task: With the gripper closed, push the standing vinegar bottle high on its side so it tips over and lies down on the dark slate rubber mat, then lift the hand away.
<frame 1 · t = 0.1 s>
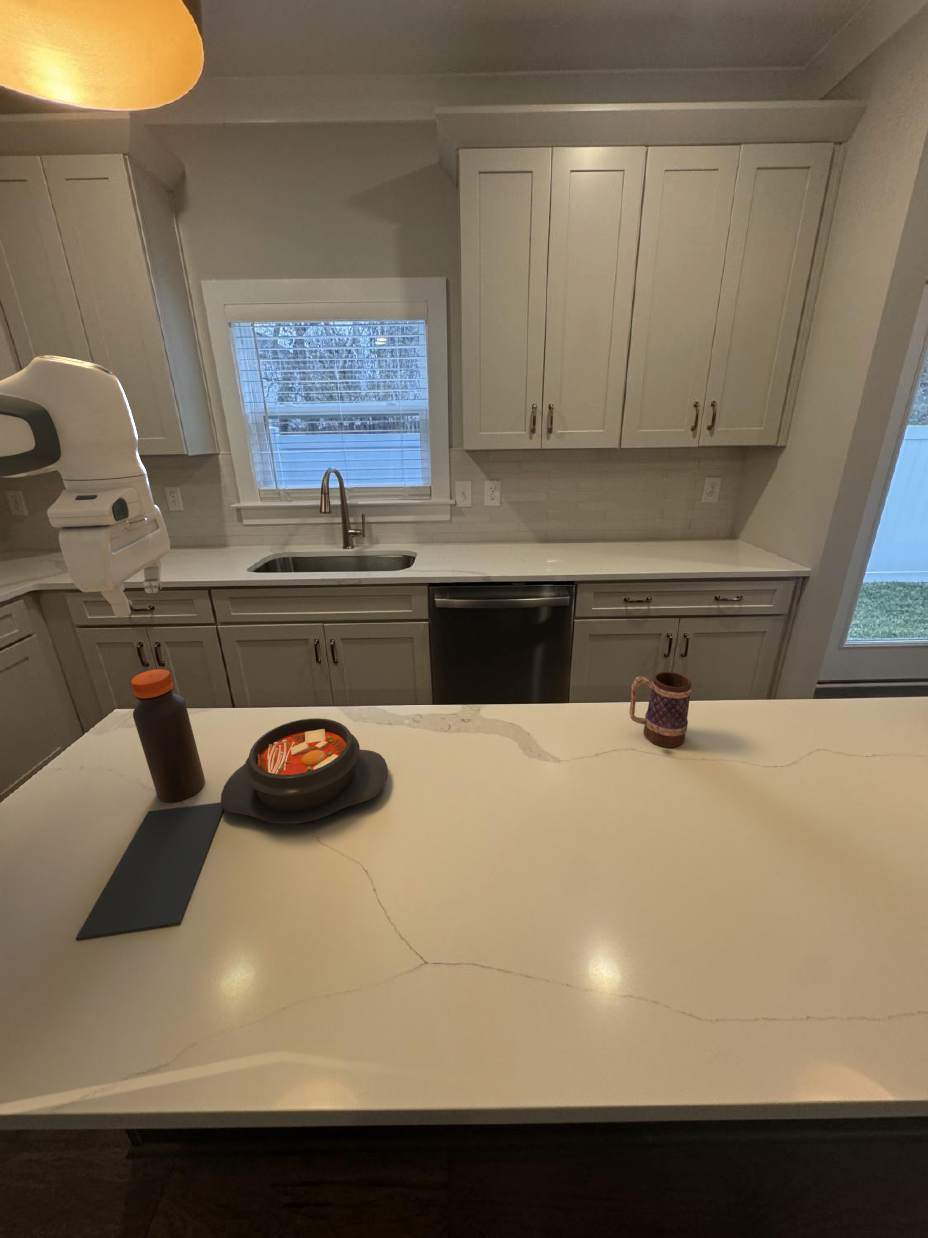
hand: (140, 602, 69), 31 cm above the table, tool pointing down, fingers open, 8 cm apart
mat: (162, 862, 67), on the table
mug: (654, 737, 91), on the table
vinegar: (182, 789, 80), on the table
casserole: (308, 790, 80), on the table
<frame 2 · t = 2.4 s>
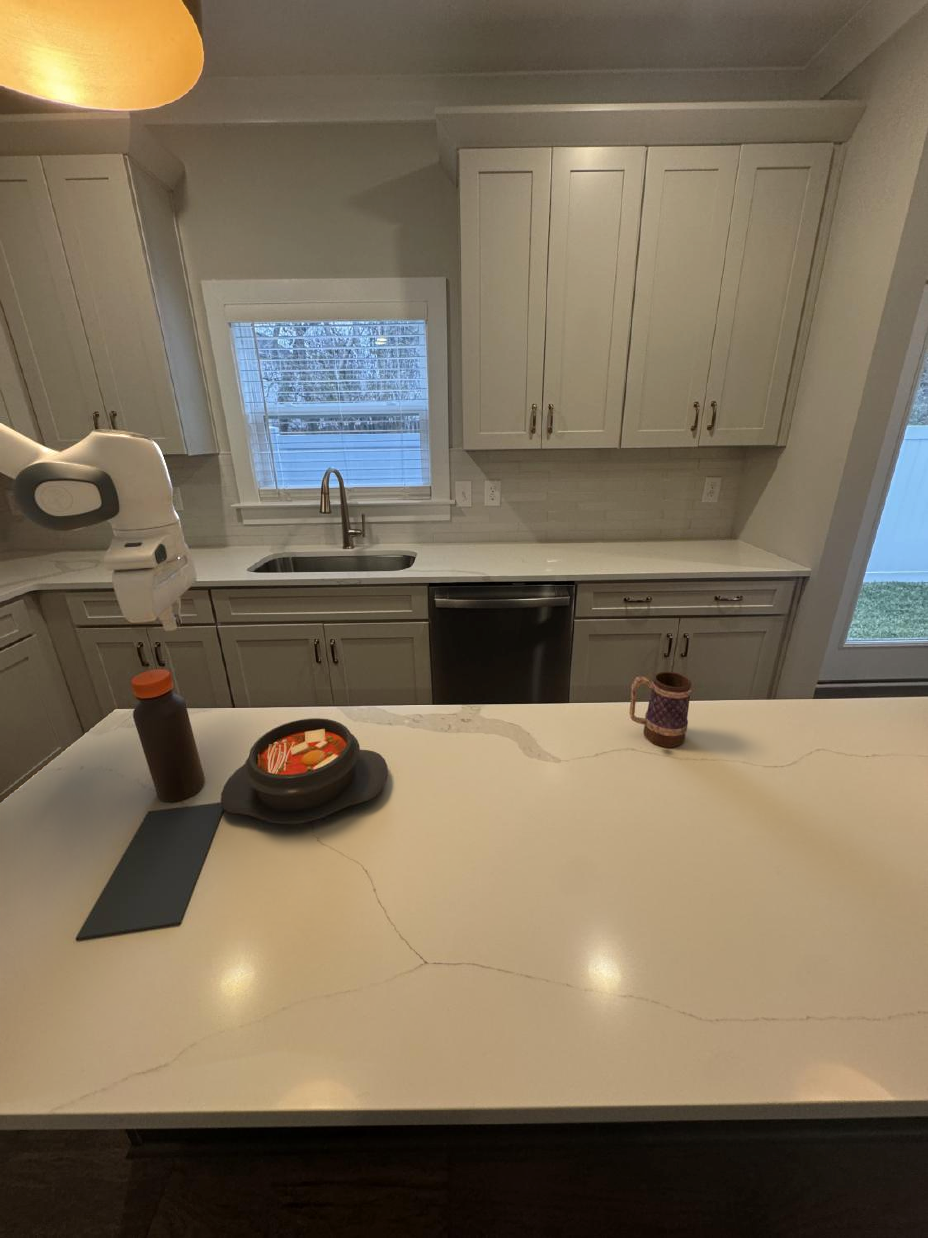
hand: (173, 627, 82), 23 cm above the table, tool pointing down, fingers closed
nothing on the table moved.
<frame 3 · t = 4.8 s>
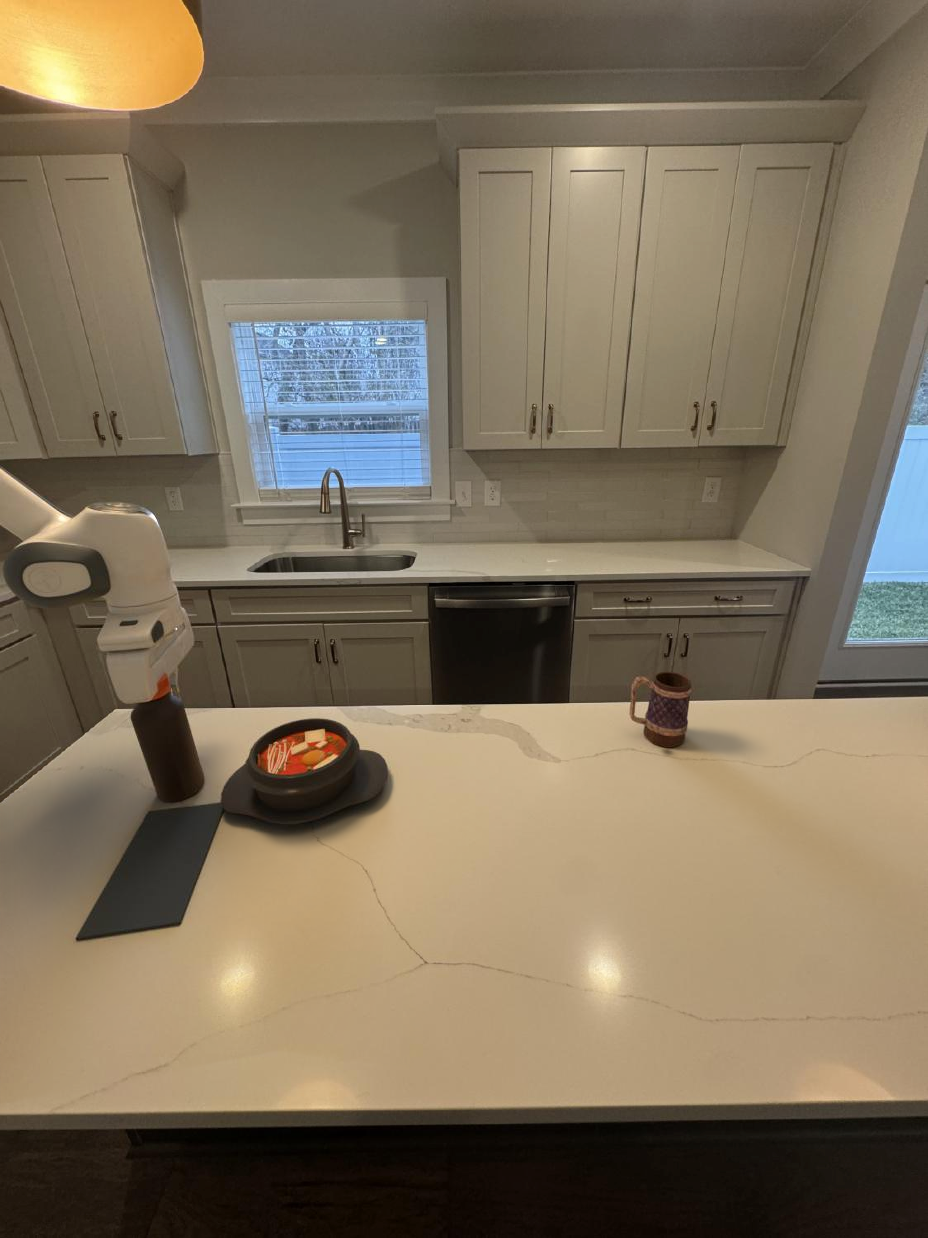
hand: (170, 698, 79), 14 cm above the table, tool pointing down, fingers closed
vinegar: (182, 788, 80), on the table, touching gripper
everything else where it was.
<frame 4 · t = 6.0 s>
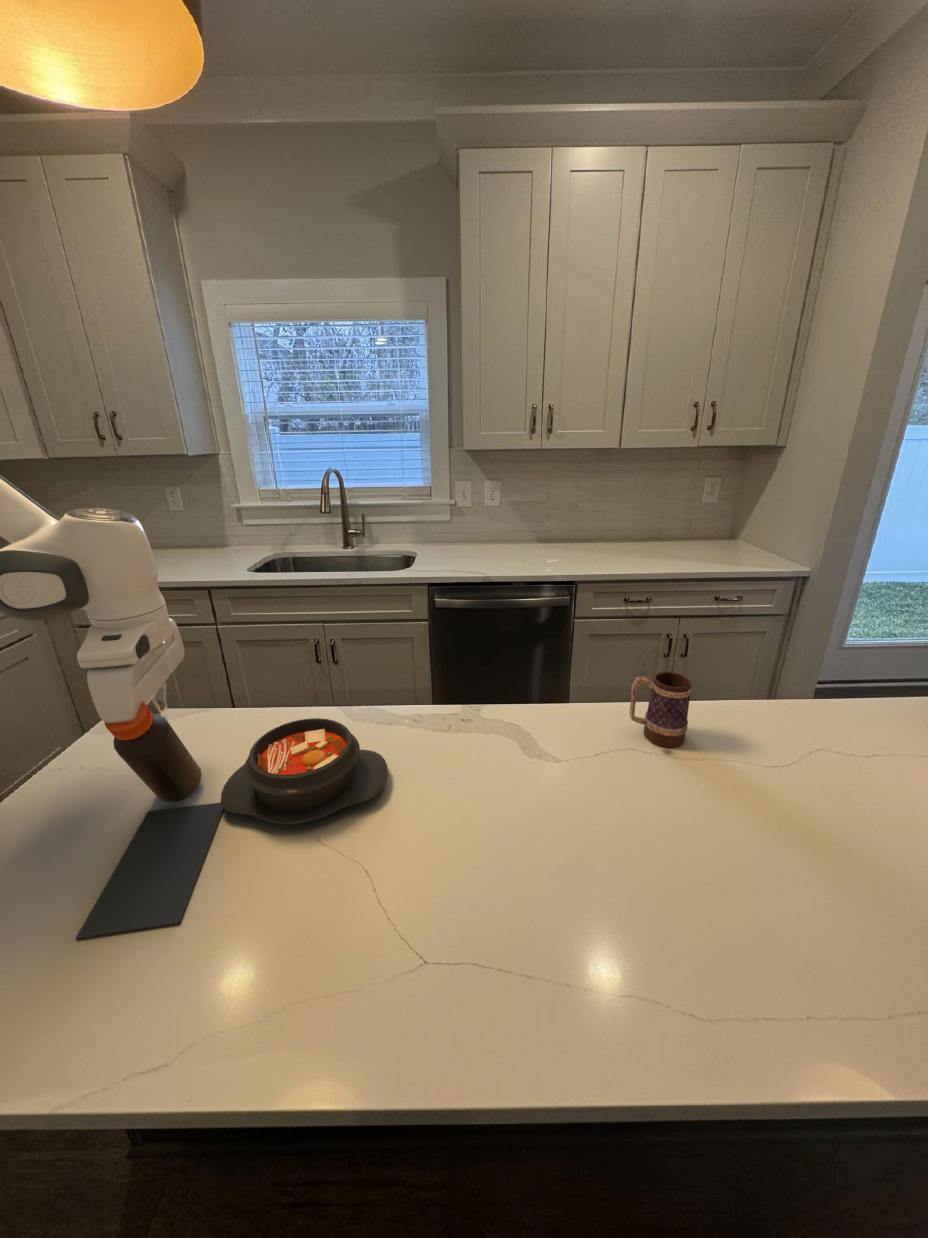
hand: (158, 715, 74), 14 cm above the table, tool pointing down, fingers closed
vinegar: (179, 782, 80), point 1 cm above the table
everything else where it was.
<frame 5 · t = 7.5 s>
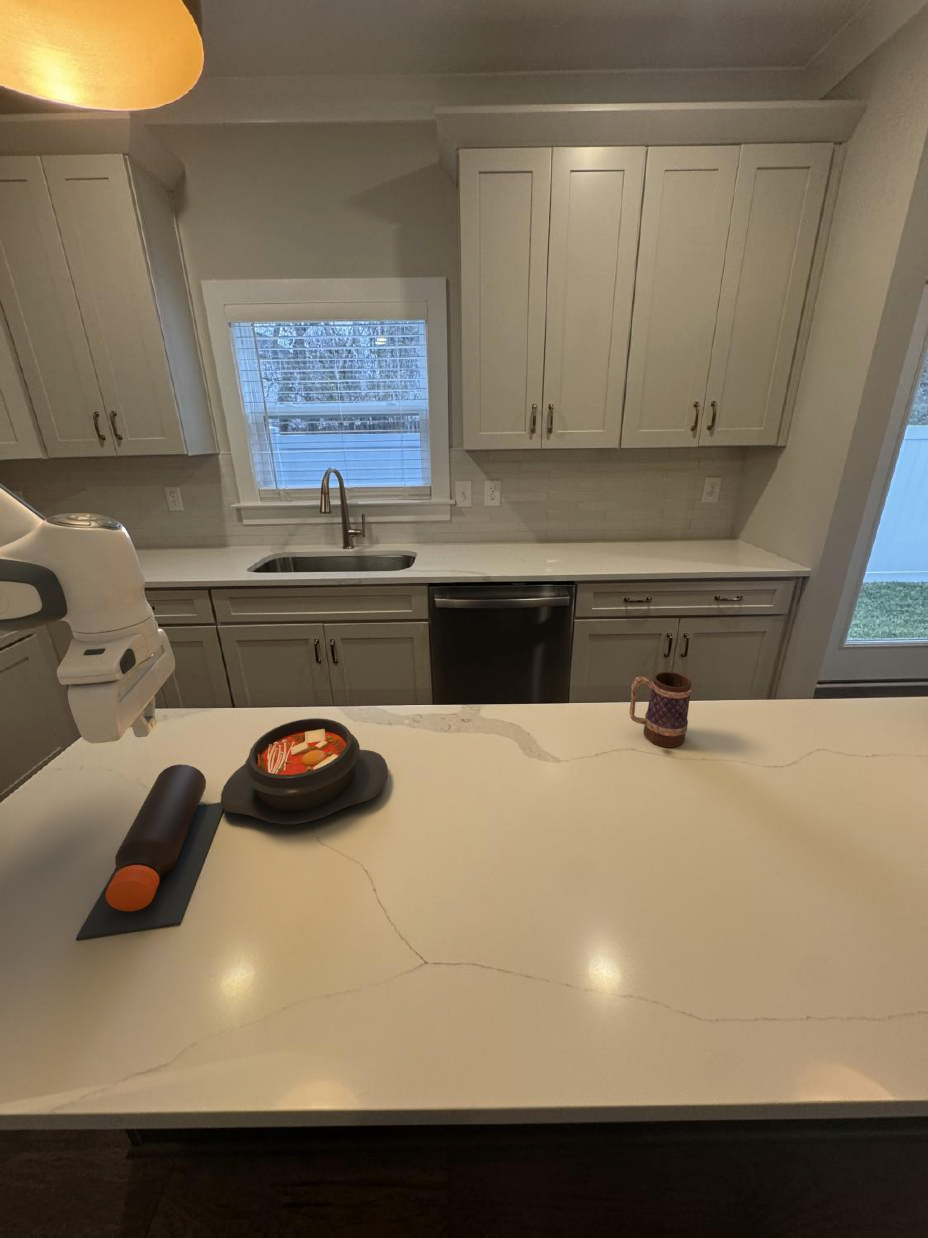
hand: (146, 731, 71), 14 cm above the table, tool pointing down, fingers closed
vinegar: (182, 780, 76), point 4 cm above the table, touching mat
everything else where it was.
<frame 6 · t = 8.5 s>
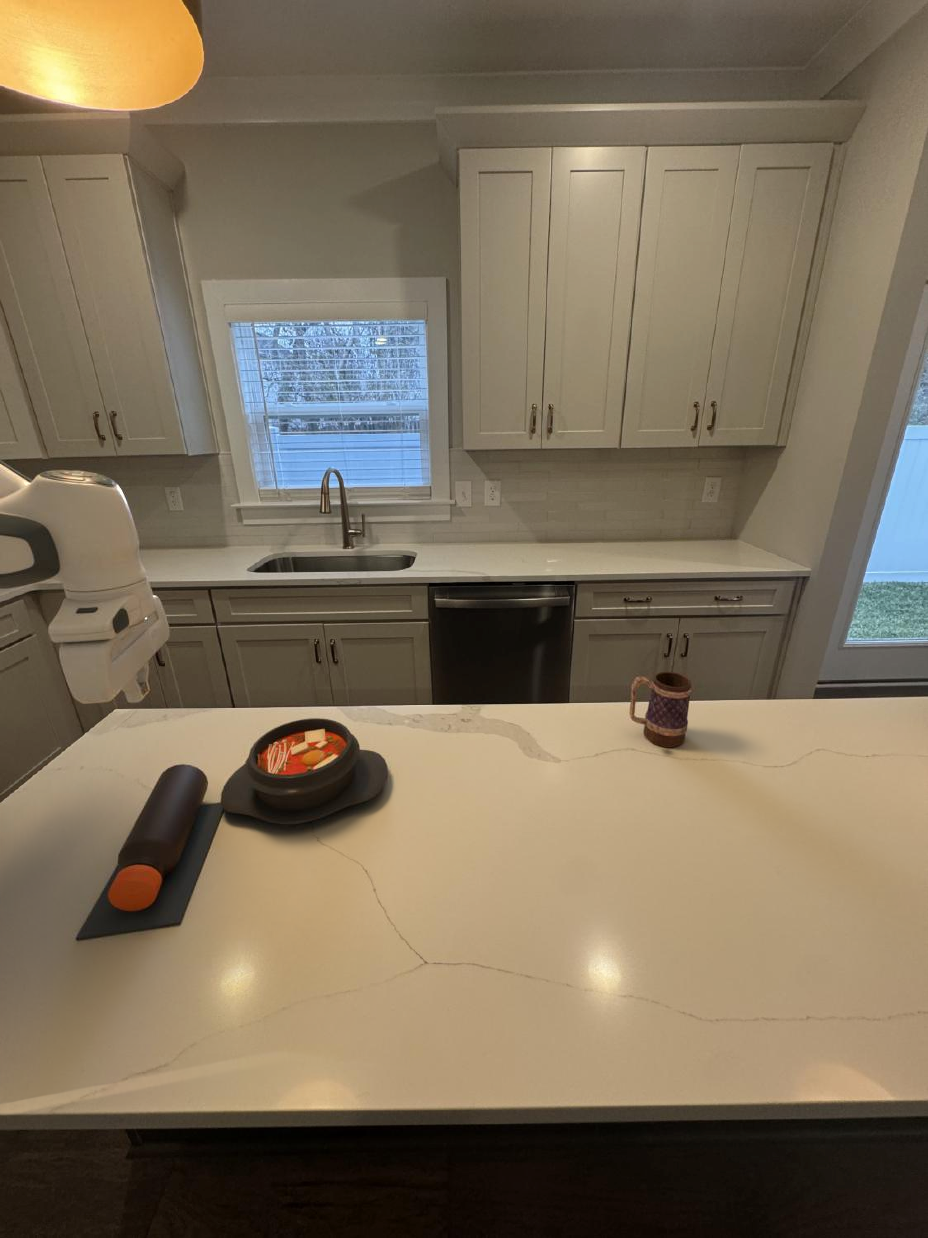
hand: (139, 697, 70), 19 cm above the table, tool pointing down, fingers closed
nothing on the table moved.
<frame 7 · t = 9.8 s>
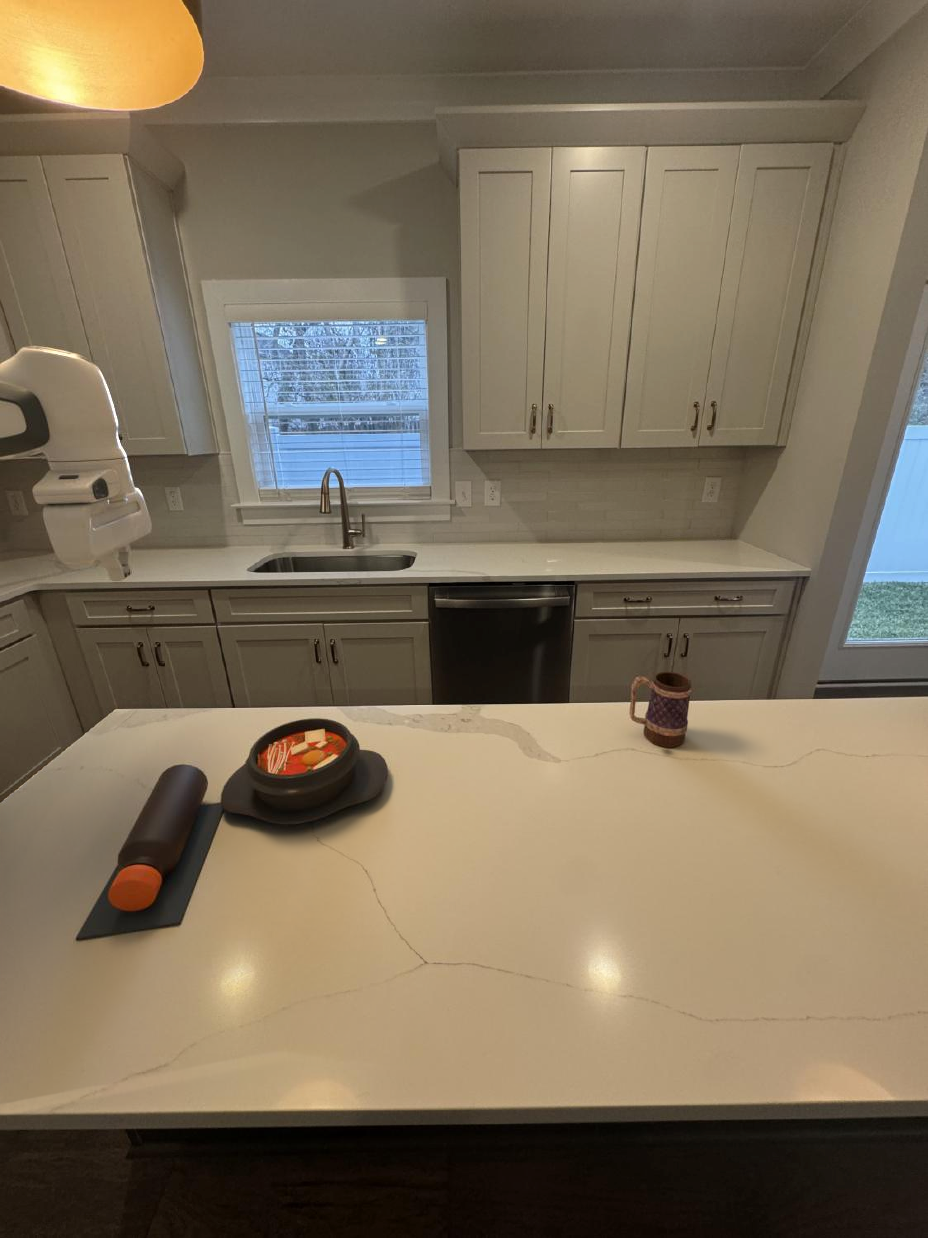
hand: (121, 578, 74), 33 cm above the table, tool pointing down, fingers closed
nothing on the table moved.
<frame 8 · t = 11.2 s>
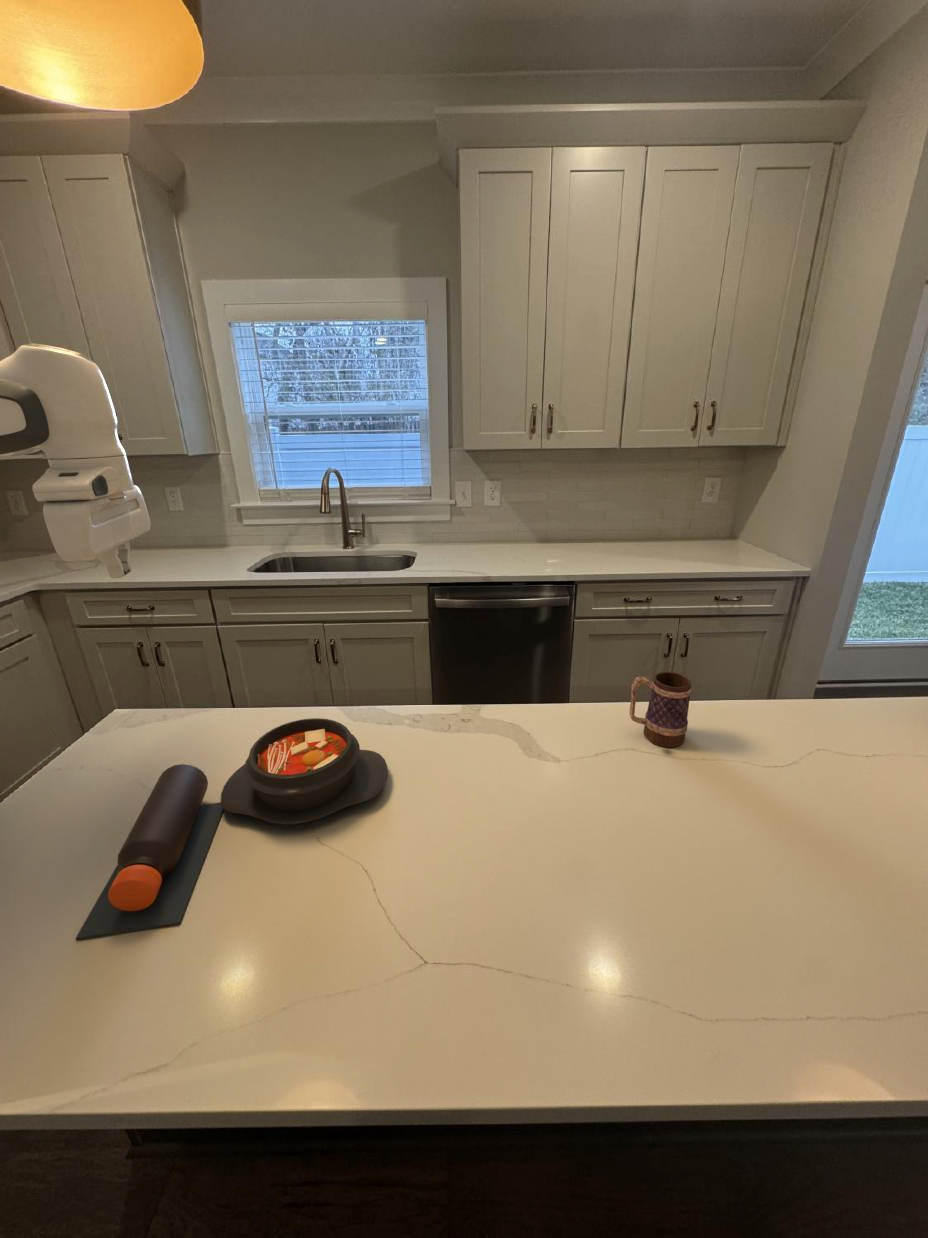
hand: (121, 575, 75), 33 cm above the table, tool pointing down, fingers closed
nothing on the table moved.
at the end: vinegar tilted 90°; vinegar touching mat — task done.
